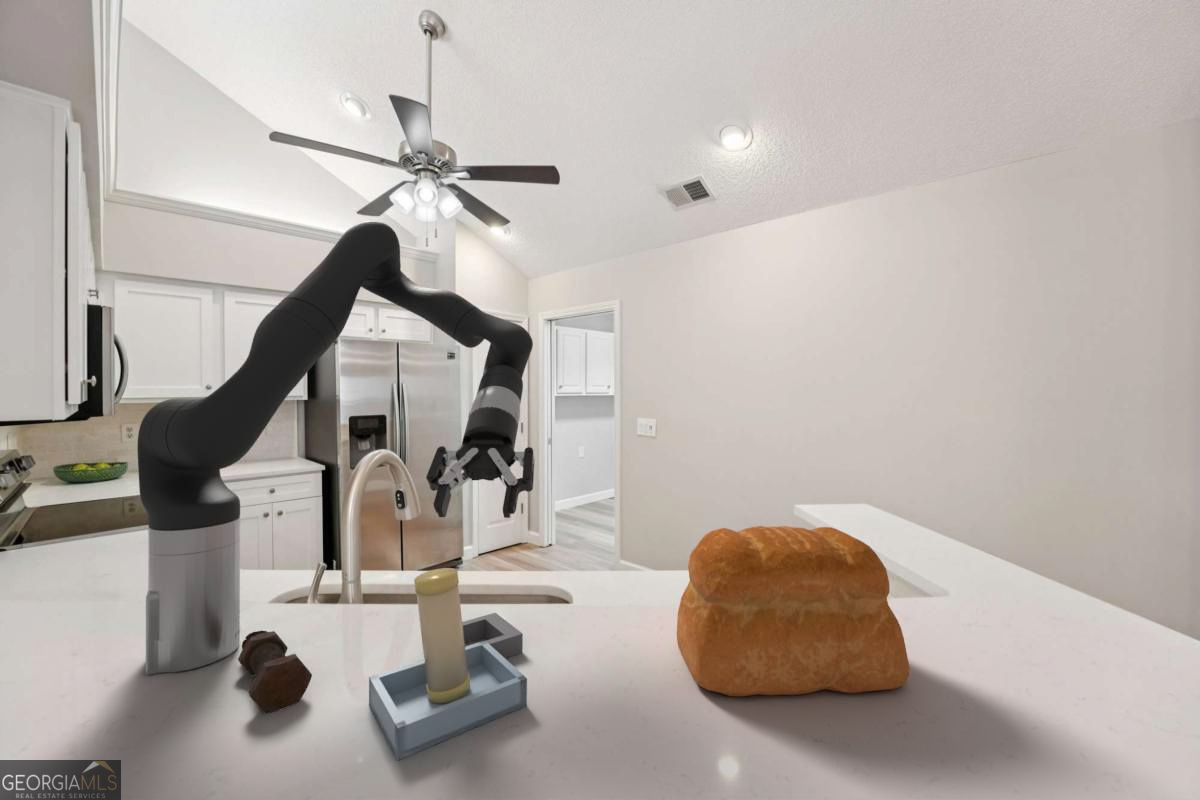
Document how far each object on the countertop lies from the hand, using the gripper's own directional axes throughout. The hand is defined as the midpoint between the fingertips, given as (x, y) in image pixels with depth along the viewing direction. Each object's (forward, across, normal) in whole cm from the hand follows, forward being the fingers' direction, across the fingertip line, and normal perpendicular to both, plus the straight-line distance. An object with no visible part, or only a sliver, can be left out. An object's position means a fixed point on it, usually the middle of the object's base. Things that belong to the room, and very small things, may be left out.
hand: (473, 514), depth 65 cm
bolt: (+18, +22, -9) cm, 30 cm away
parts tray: (+20, 0, -6) cm, 21 cm away
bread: (+14, -40, -12) cm, 44 cm away
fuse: (+19, 0, -6) cm, 20 cm away
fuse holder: (+12, 0, -14) cm, 18 cm away
